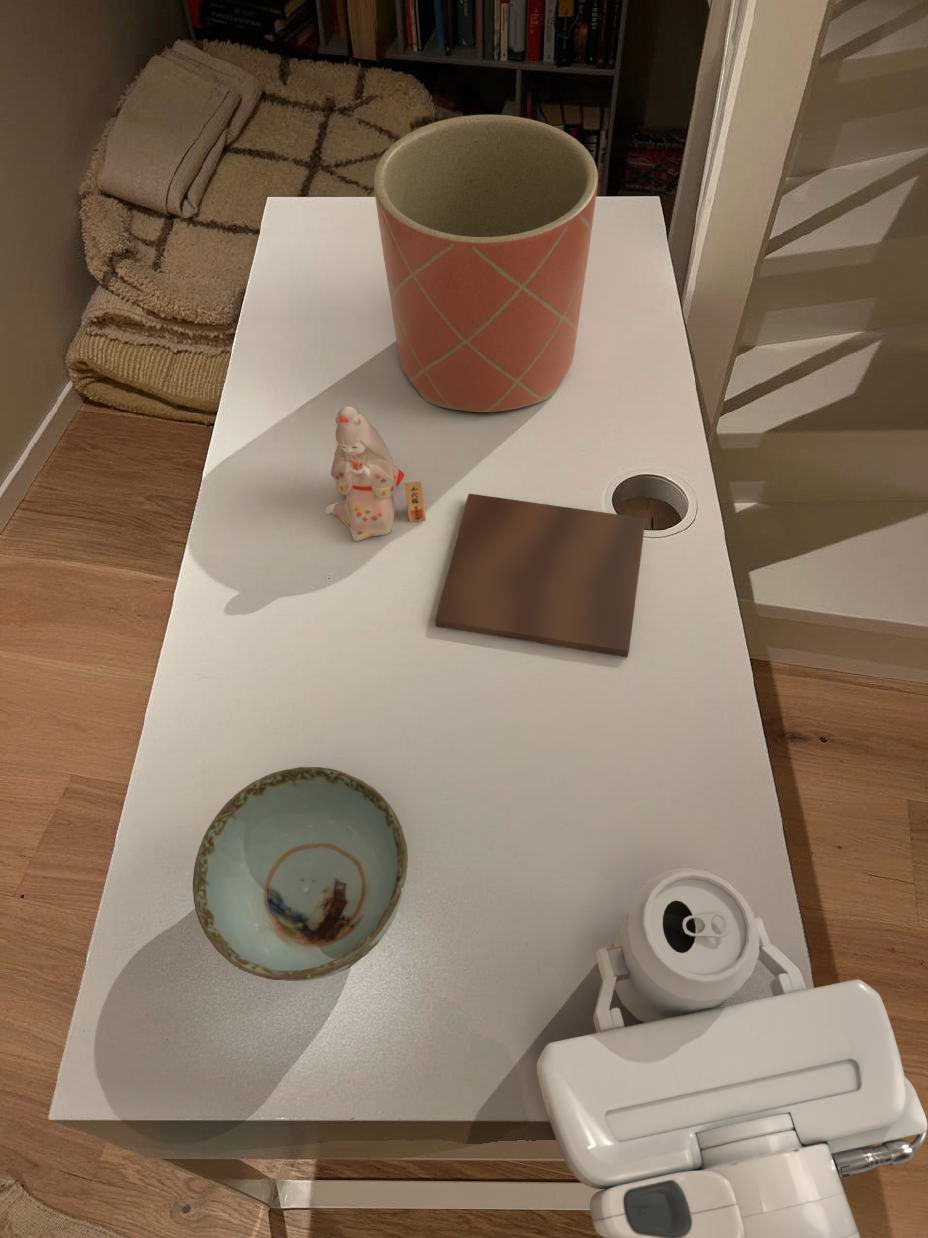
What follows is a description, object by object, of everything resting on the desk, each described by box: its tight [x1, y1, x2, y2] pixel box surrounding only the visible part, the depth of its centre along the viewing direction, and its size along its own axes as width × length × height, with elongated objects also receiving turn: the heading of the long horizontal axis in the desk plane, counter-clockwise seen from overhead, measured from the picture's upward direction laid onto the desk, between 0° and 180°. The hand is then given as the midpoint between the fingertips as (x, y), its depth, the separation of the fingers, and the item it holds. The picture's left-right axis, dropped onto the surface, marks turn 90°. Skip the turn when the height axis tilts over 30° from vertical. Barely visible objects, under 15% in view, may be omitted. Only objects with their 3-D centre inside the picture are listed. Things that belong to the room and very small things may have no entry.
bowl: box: [192, 766, 409, 982], centre depth 61 cm, size 14×13×8 cm
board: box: [434, 493, 646, 658], centre depth 79 cm, size 16×14×1 cm
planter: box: [373, 114, 599, 413], centre depth 86 cm, size 19×19×20 cm
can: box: [613, 867, 759, 1023], centre depth 56 cm, size 8×8×12 cm
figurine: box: [325, 406, 426, 542], centre depth 79 cm, size 9×7×12 cm
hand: (676, 935), depth 56 cm, fingers closed on can, 7 cm apart
